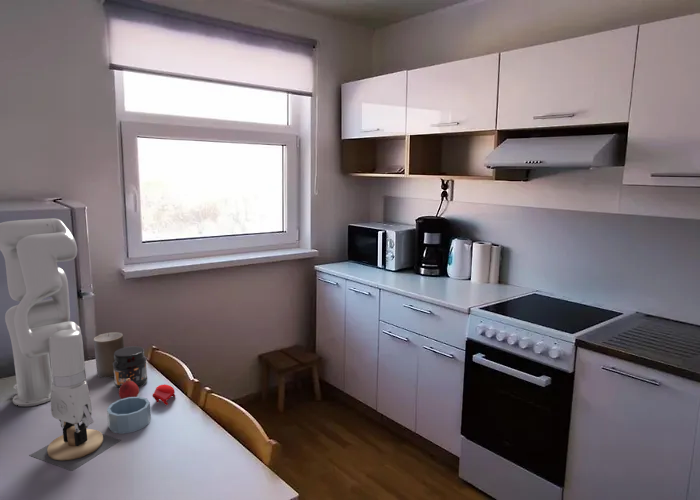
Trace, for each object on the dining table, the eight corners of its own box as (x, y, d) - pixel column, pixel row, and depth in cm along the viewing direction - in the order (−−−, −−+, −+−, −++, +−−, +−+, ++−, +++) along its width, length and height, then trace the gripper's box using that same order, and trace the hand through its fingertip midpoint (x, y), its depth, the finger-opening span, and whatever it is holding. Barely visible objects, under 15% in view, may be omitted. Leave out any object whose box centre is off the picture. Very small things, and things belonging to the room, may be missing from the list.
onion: (132, 407, 154) (130, 383, 153) (115, 405, 155) (113, 382, 154) (143, 398, 160) (141, 375, 158) (127, 397, 161) (125, 374, 160)
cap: (162, 400, 152) (176, 385, 156) (148, 391, 154) (161, 376, 157) (168, 411, 158) (181, 396, 162) (154, 402, 160) (167, 387, 163)
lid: (36, 453, 129) (34, 435, 128) (80, 428, 140) (78, 412, 139) (71, 465, 124) (69, 447, 123) (114, 438, 135) (112, 422, 134)
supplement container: (107, 389, 167) (104, 355, 164) (127, 376, 177) (125, 344, 175) (135, 392, 164) (132, 358, 162) (154, 379, 174) (151, 346, 172)
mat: (29, 457, 128) (29, 455, 128) (80, 429, 142) (80, 427, 142) (72, 473, 122) (72, 470, 122) (121, 441, 136) (121, 439, 135)
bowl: (100, 429, 141) (98, 410, 140) (131, 412, 151) (129, 394, 150) (129, 438, 137) (127, 418, 136) (158, 419, 147) (157, 401, 146)
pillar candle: (132, 370, 182) (128, 331, 179) (108, 380, 173) (104, 339, 171) (114, 365, 186) (111, 327, 184) (90, 374, 178) (86, 335, 175)
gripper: (34, 377, 128) (41, 441, 132) (78, 389, 122) (85, 456, 125) (60, 366, 135) (67, 427, 138) (104, 377, 128) (110, 441, 132)
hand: (75, 440), depth 132 cm, fingers closed on lid, 3 cm apart
